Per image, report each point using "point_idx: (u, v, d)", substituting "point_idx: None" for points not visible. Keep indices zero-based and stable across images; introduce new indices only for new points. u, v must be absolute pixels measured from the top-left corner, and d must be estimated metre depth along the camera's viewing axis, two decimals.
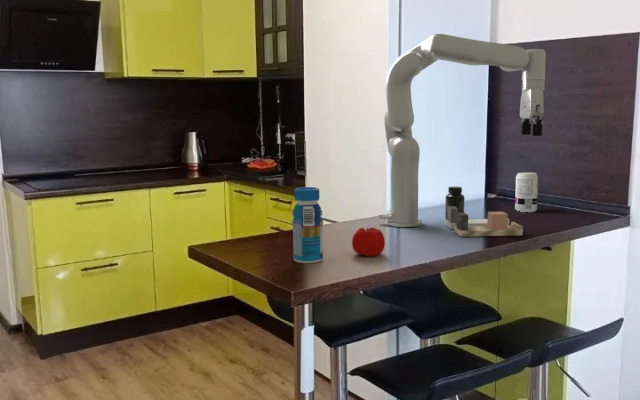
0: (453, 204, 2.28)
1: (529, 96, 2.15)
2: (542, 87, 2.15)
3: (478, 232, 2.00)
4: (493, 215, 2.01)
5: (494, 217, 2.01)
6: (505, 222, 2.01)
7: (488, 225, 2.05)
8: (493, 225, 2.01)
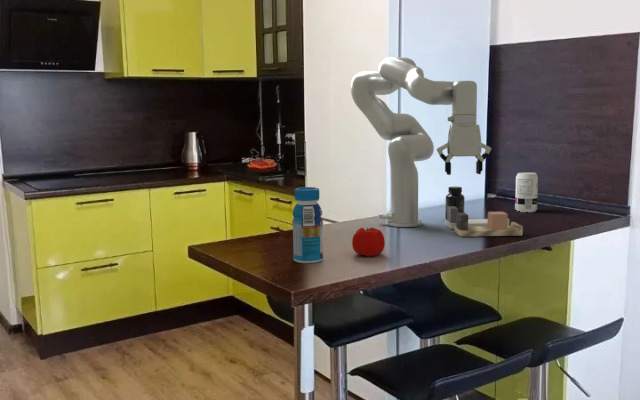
0: (453, 204, 2.28)
1: (476, 131, 1.97)
2: None
3: (478, 232, 2.00)
4: (493, 215, 2.01)
5: (494, 217, 2.01)
6: (505, 222, 2.01)
7: (488, 225, 2.05)
8: (493, 225, 2.01)
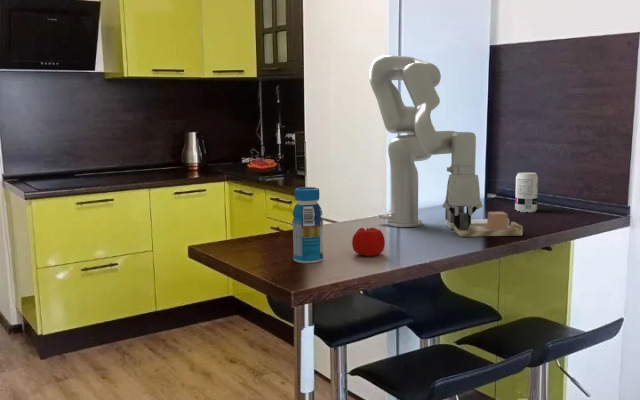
0: None
1: (475, 182, 1.99)
2: None
3: (478, 232, 2.00)
4: (493, 215, 2.01)
5: (494, 217, 2.01)
6: (505, 222, 2.01)
7: (488, 225, 2.05)
8: (493, 225, 2.01)
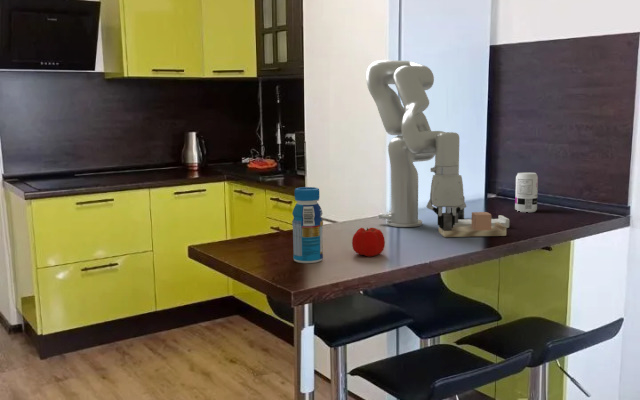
0: None
1: (458, 182, 1.99)
2: None
3: (462, 232, 2.00)
4: (477, 215, 2.01)
5: (477, 217, 2.01)
6: (489, 222, 2.01)
7: (472, 226, 2.05)
8: (477, 225, 2.01)
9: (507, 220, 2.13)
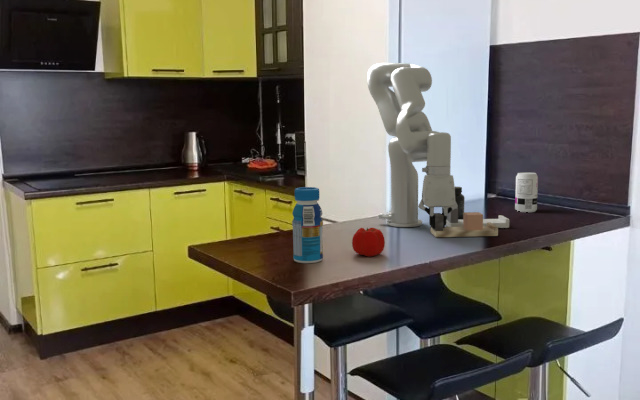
0: None
1: (450, 183, 1.99)
2: None
3: (453, 233, 2.00)
4: (468, 216, 2.01)
5: (469, 218, 2.01)
6: (480, 223, 2.01)
7: (464, 226, 2.05)
8: (468, 226, 2.01)
9: (507, 220, 2.13)
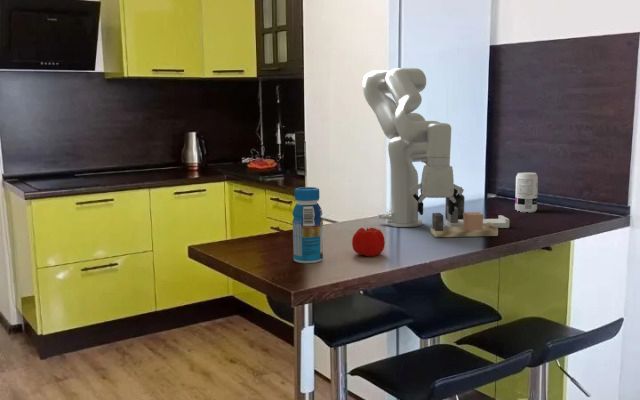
0: None
1: (449, 174, 1.99)
2: None
3: (453, 233, 2.00)
4: (468, 216, 2.01)
5: (469, 218, 2.01)
6: (480, 223, 2.01)
7: (464, 226, 2.05)
8: (468, 226, 2.01)
9: (507, 220, 2.13)
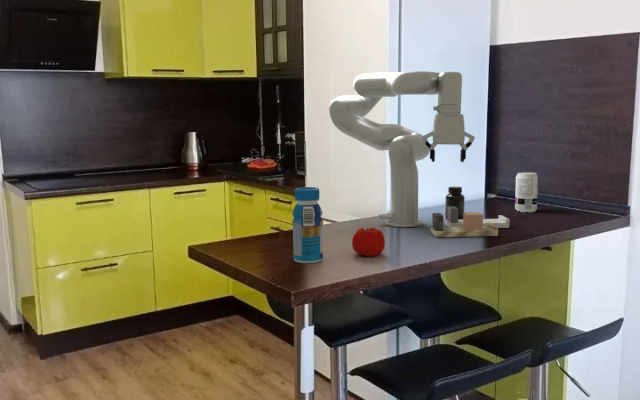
0: (453, 204, 2.28)
1: (459, 121, 2.05)
2: None
3: (453, 233, 2.00)
4: (468, 216, 2.01)
5: (469, 218, 2.01)
6: (480, 223, 2.01)
7: (464, 226, 2.05)
8: (468, 226, 2.01)
9: (507, 220, 2.13)
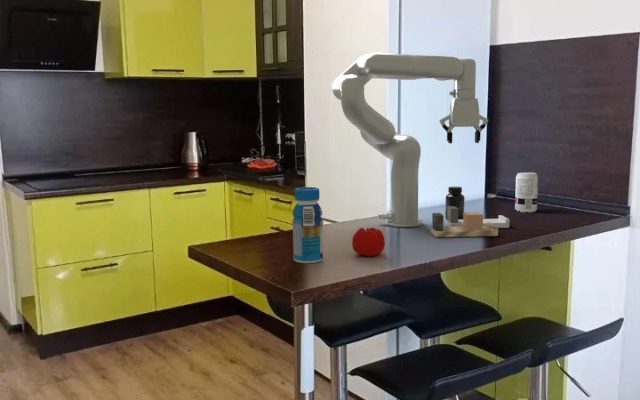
0: (453, 204, 2.28)
1: (475, 104, 2.21)
2: None
3: (453, 233, 2.00)
4: (468, 216, 2.01)
5: (469, 218, 2.01)
6: (480, 223, 2.01)
7: (464, 226, 2.05)
8: (468, 226, 2.01)
9: (507, 220, 2.13)
